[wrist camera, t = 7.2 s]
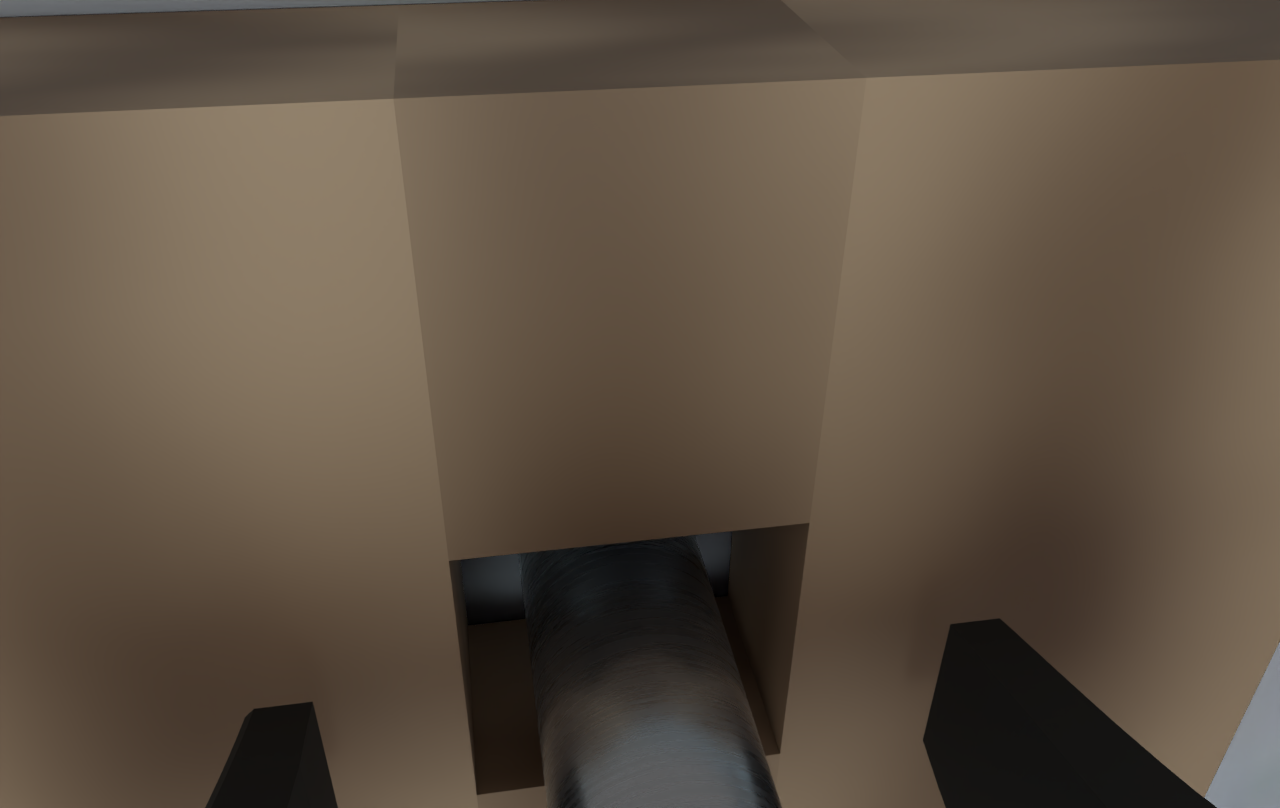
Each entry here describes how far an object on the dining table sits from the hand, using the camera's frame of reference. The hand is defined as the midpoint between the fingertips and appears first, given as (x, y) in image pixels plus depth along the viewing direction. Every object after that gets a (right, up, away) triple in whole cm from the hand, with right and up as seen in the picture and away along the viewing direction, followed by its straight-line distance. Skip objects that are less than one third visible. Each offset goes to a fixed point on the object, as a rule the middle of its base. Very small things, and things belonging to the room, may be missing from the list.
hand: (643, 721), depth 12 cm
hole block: (-1, +2, +3) cm, 4 cm away
